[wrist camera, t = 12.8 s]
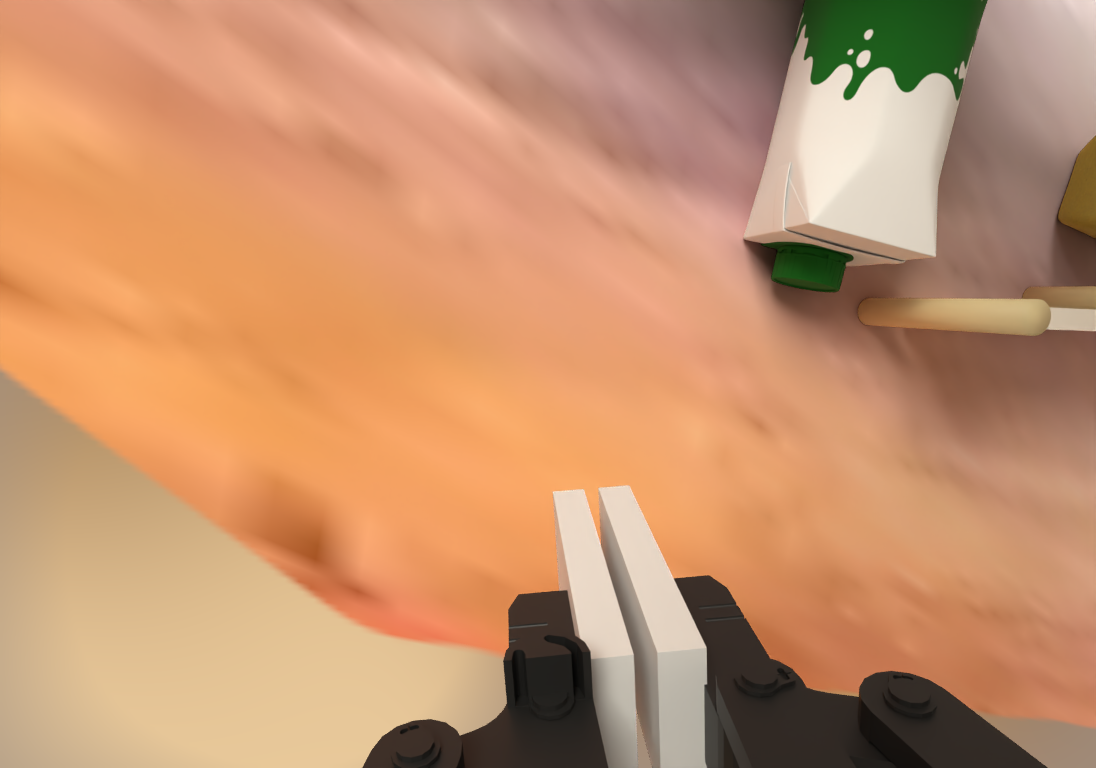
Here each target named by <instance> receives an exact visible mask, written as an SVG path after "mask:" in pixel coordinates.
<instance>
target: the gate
mask: <svg viewBox="0 0 1096 768" xmlns="http://www.w3.org/2000/svg"><path fill="white" fill-rule="evenodd" d="M1050 311H1051V320H1050V324H1049V326H1048V328H1047V329H1050V330H1076V331H1096V310H1094V309H1073V308H1052V307H1050Z"/></svg>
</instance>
